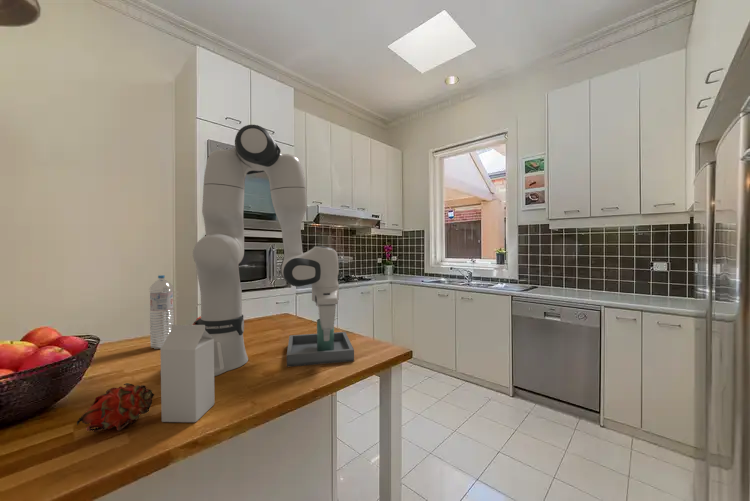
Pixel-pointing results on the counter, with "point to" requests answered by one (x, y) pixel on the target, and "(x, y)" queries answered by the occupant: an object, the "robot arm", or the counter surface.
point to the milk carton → (187, 374)
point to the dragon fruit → (117, 407)
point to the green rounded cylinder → (321, 343)
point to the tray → (306, 353)
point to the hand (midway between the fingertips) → (325, 336)
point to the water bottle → (161, 311)
